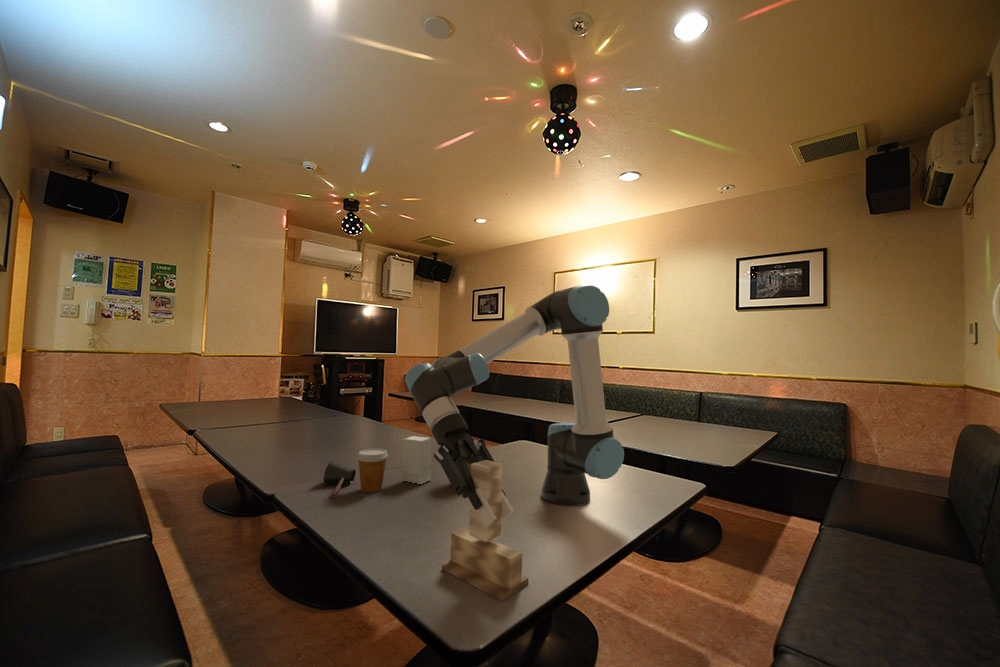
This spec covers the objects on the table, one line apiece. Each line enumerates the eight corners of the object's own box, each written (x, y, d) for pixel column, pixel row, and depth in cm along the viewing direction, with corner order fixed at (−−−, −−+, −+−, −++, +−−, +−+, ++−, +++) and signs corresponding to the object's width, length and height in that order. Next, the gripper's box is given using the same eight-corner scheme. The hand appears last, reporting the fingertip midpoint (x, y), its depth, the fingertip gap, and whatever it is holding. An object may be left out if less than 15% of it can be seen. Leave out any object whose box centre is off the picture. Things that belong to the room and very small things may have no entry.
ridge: (442, 569, 82) (443, 536, 82) (469, 554, 88) (470, 524, 88) (502, 601, 71) (502, 564, 72) (528, 582, 77) (529, 548, 78)
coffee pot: (330, 478, 137) (355, 482, 138) (306, 504, 119) (334, 509, 120) (333, 457, 137) (358, 461, 137) (309, 480, 119) (338, 485, 119)
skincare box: (431, 481, 138) (432, 437, 139) (419, 485, 133) (421, 440, 134) (412, 477, 142) (414, 434, 143) (400, 481, 137) (402, 437, 138)
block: (484, 527, 83) (486, 459, 84) (500, 534, 80) (502, 464, 81) (469, 535, 80) (471, 463, 80) (485, 542, 77) (487, 468, 78)
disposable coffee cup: (393, 488, 129) (394, 451, 130) (369, 497, 121) (370, 456, 122) (373, 483, 135) (374, 446, 135) (349, 490, 127) (350, 452, 127)
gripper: (465, 427, 98) (516, 515, 86) (405, 438, 84) (457, 543, 73) (481, 408, 94) (537, 496, 83) (422, 415, 81) (479, 522, 69)
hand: (500, 518), depth 78 cm, fingers closed on block, 4 cm apart
